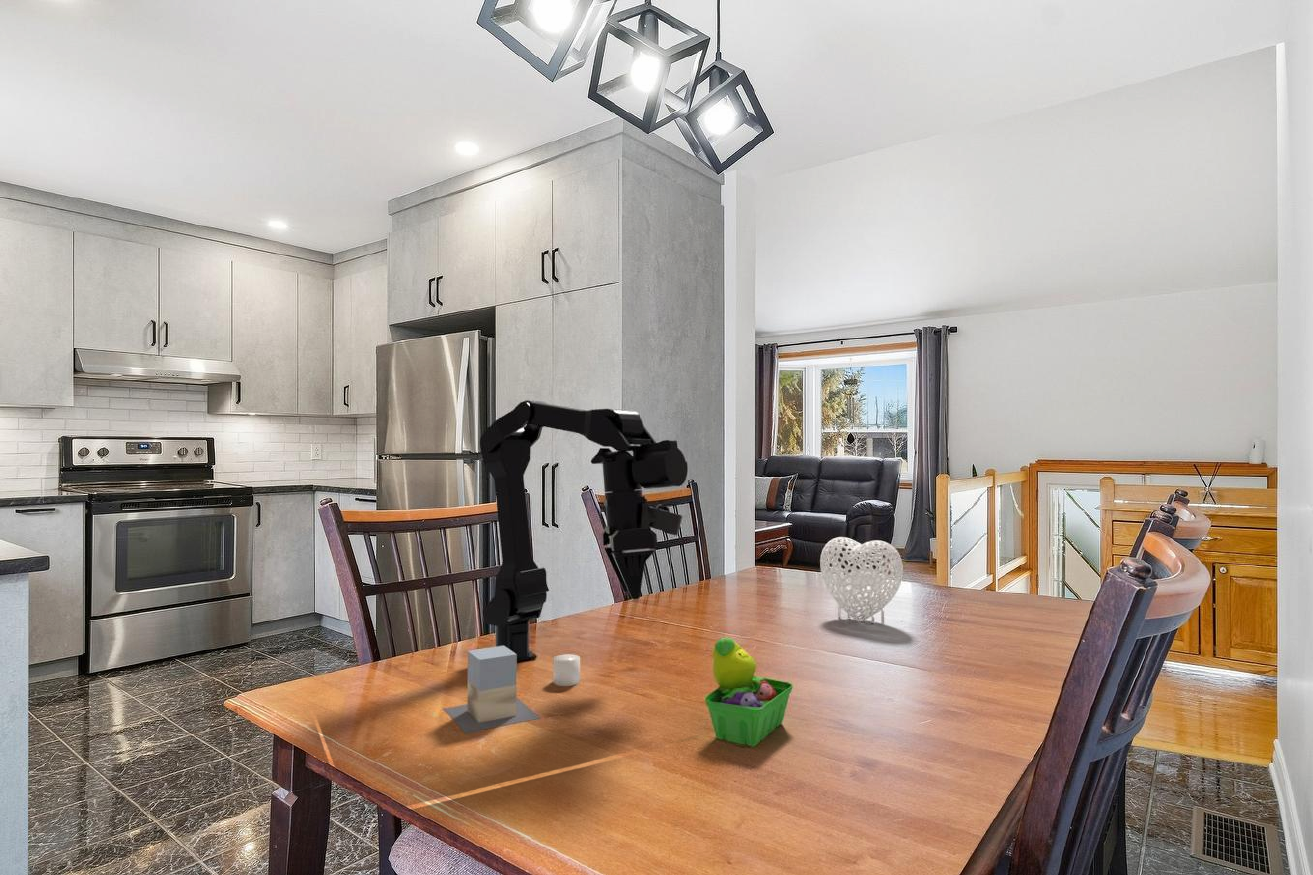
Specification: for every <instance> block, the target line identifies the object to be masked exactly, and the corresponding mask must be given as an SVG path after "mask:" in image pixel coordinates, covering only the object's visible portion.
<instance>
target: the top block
mask: <svg viewBox="0 0 1313 875" xmlns="http://www.w3.org/2000/svg"><path fill="white" fill-rule="evenodd" d="M517 662H518V661H517V654H516V653H514V652H513V651H511V650H510V649H508V648H507V647H505V646H497V647H495V646H492V647H484V648H479V649H478V648H477V649H471V650H467V683H468V682H470V683H471V684H472V685H473V686H474V687H475V688H476V689H477V690H478V691H484V690H490V689H495V688H501V687H507V686H513V685H517V683H518V682H517V678H518V676H517V674H518V673H517V672H518V671H517V669H518V668H517Z"/></svg>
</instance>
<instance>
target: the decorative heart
mask: <svg viewBox="0 0 1313 875" xmlns="http://www.w3.org/2000/svg"><path fill="white" fill-rule="evenodd" d="M843 549H845V550H843ZM840 554H842V556H841V555H840ZM884 557H885V558H884ZM839 560H840V561H839ZM888 560H889V562H888ZM845 561H846V562H847V563H846V562H845ZM884 563H885V564H884ZM819 564H820V566H819V567H820V573H821V575H822V580H823V582H824V585H825V586H826V589H827V590H828V593H829V594H830V595H831V597H832V598H833V599H834V601H835V602H836V604H837V618H838V617H841V615H842V610H843V611H844V612H845V613H847V619H848V618H850V619H851V618H852V619H853V620H854V621H855V620H856V621H855V622H858V621H863V622H865V621H866V620H868V619H870V618H871V623H874V624H875V617H874V616H875V615H876V614H877V613H879V612H881V613H880V614H881V615H880V616H881V618H880V621H881V622H880V624H881V623H882V624H884V625H885V610H884V608H885V607H886V606H887V605H888V604H889V603H890V602H891V601H892V600H893V598H895V596H896V594H897V592H898V591H899V589H900V586H901V584H902V580H903V577H904V576H903V573H904V565H903V560H902V557H901V555H900V553H899V551H898V550H897V548H895V547H894V545H892V544H891V543H889V542H886V541H883V540H878V539H877V540H876V539H875V540H869V541H865V542H864V543H860V542H858V541H856V540H854V539H852V538H849V537H846V536H845V537H844V536H838V537H835V538H832V539H831V540H828V542H827V543H826V544H825V545H824V547H823V548H822V550H821V554H820V559H819ZM830 564H831V565H830ZM851 564H852V566H851ZM883 564H884V565H883ZM842 566H844V568H843V567H842ZM857 566H858V567H859V568H857ZM873 566H875V568H874V567H873ZM849 571H850V572H849ZM889 571H890V574H889ZM847 587H849V588H850V589H847ZM868 587H869V588H870V589H868ZM865 594H867V595H865ZM859 595H860V596H859ZM872 595H873V596H872ZM841 618H842V617H841Z"/></svg>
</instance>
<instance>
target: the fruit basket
mask: <svg viewBox="0 0 1313 875" xmlns="http://www.w3.org/2000/svg"><path fill="white" fill-rule="evenodd" d="M712 658H713V666H712V667H713V668H712V672H713V676H714V679H715V682H716V683H717V685H718V686H719V687H717V688H716V689H715V690H713V691H712V692H710V693H708V694H707V695H706V696H704V698H703V699H704V700H705V704H706V706H707V709H708V712H709V716H710V719H711V722H712V726H713V729H714V733H715V734H714V735H715V737H716V739H719V740H725V741H728V742H731V743H735V744H739V745H747V746H749V747H756V746H757V745H758V744H759V743H760V741H763V740H764V739H765V738H766V737H767V736H768V735H769V734H771V733H772V732H773V731H774V730H776V728H778V727H779V726H781V725H782V723H783V720H784V717H785V712H786V710H787V705H788V701H789V697H790V695H791V693H792V690H793V687H794V684H793V683H792V682H789V681H784V680H780V679H779V680H778V679H774V678H773V679H772V678H767V677H762V676H757V675H755V672H756V669H757V662H756V660H755V659H754V657H753V656H751V655H750V654H749V653H748V652H747V651H746V650H745V649H744V648H742V647H741V646H740V645H739V644H738V643H737V642H736V641H734V640H733V639H732V638H729V637H722V638H721V637H720V638H718V639H717V641H716V642H715V643H714V648H713V651H712Z"/></svg>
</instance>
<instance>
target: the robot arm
mask: <svg viewBox="0 0 1313 875" xmlns="http://www.w3.org/2000/svg"><path fill="white" fill-rule="evenodd" d="M543 428H549V429H550V428H552V429H556V430H560V431H566V432H570V433H575V434H579V435H581V436H584V437H585V438H586V439H587V440H588V441H590V442H593V443H595V444H597V445H600V447H601V448H599V450H598V452H597V453H596V454H595V455H594V456H593V457H592V458H591V459H590V463H591V465H602V475H603V487H604V488H603V489H604V499H603V506H604V507H605V514H606V515H605V516H606V525H605V528H604V529H603V530H602V531H601V533H600V538H601V539H600V540H601V545H602V546H603V548H602V549H603V550H604V552H605V555H606V558H607V559H608V562H609V563H610V565H611V568H612V570H613V571H614V574H615V576H616V578H617V579H618V582H619V584H620V587H621V588H622V591H623V592H624V593H629V596H630V598H631V599H632V600H638V599H640V598H641V591H642V583H643V576H644V570H645V565H646V562H647V561H648V559H649V558H650V557H651V556H652V555H653V554H654V553H655V552H656V548H658V538H657V537H658V536H657V533H656V532H654V530H658V531H663V533H664V534H668V535H672V536H676V537H677V536H678V535H679V530H680V527H681V523H682V519H683V515H682V514H677V513H674V512H671V511H670V507H669V506H666V505H662V504H658V505H656V507H652V506H648V499H647V498H646V497H645V496H643V489H645V490H649V489H651V490H652V489H661V488H673V487H675V488H676V487H681V486H682V485H684V483H685V481H686V480H687V477H688V469H689V468H688V467H689V466H688V461H686V458H685V455H684V453H683V452H682V450H681V449H679V448H678V441H677V440H676V439H665V440H661V441H658V442H657V441H656V440H655V439H654V438H653V436H652V435H651V434H650V432H649V431H648V430H647V428H646V427H645V425H644V423H643V419H642V418H641V415H640V414H639V413H638V412H637V411H635V410H626V409H614V408H599V409H597V408H596V409H588V410H585V409H579V408H574V407H567V406H562V405H554V404H550V403H547V402H545V401H538V400H529V399H528V400H527V399H526V400H523V401H520V403H518V404H517V405H516V406H515V407H514V409H513V410H511V411H510V412H507V413H505V414H504V415H502V416H501V417H498V418H497V419H495V420H494V421H493V422H492V424H491V425H490V426H488V427H487V428H485V430H484V432H483V433H482V435H480V438H479V448H480V452H481V457H482V462H483V465H484V467H486V469H487V471H488V472H489V474H490V475H491V476H492V478H493V480H494V488H495V491H494V492H495V499H496V508H497V510H496V511H497V518H498V519H497V521H498V528H499V529H498V532H499V540H500V548H501V550H500V551H501V558H502V561H501V566H500V568H499V570H498V573H497V575H496V578H495V580H494V596H493V597H492V598H491V600H490V601H489V602H488V603H487V605H486V606H485V607H484V608H483V610H482V615H483V621H484V623H485V624H487V625H492V626H495V636H494V637H495V644H494V645H495V646H494V647H497V646H505V647H507V648H508V649H510V650H511V651H513V652H514V653H516V654H517V662H520V661H526V660H532V659H533V660H534V659H537V657H538V656H537V654H536V653H534V652H533V651H531V650H530V636H531V634H530V632H531V631H530V630H531V628H530V625H531V624H530V620H533V619H540V618H541V614H542V611H543V607H544V604H545V603H546V602H547V592H549V591H550V589H549V587H548V582H547V571H546V568H545V567H538V565H537V564H536V562H535V561H534V559H533V556H532V547H531V545H532V544H531V537H530V536H531V535H530V528H529V517H528V516H529V515H528V508H527V499H526V488H525V478H524V477H525V476H524V475H525V473H526V471H527V468H528V466H529V463H530V461H531V450H532V449H531V447H532V446H534V444H536V442H537V441H538V440H539V439H540V438H541V435H542V432H543ZM608 447H609V448H608ZM610 447H611V448H610ZM612 448H613V450H615V451H612V450H611V449H612ZM630 452H632V454H631V453H630ZM653 529H654V530H653ZM607 545H608V546H607Z"/></svg>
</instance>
